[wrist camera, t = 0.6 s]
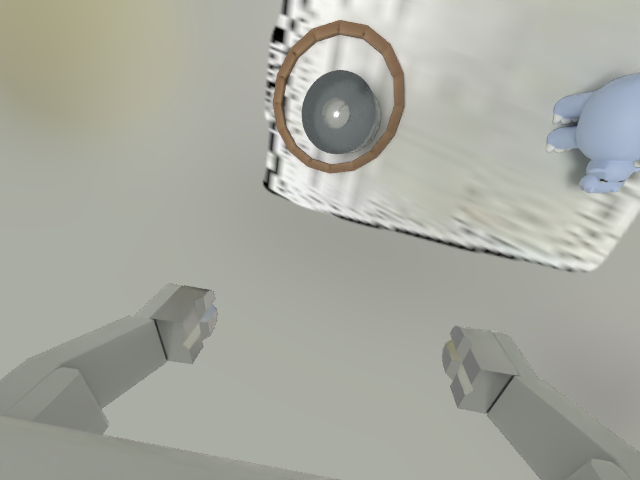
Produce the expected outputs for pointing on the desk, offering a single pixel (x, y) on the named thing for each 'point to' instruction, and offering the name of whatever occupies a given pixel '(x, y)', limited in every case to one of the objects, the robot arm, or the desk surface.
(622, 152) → the hippopotamus toy
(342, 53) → the desk surface
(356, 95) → the metal cover
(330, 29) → the locating ring
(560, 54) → the desk surface
